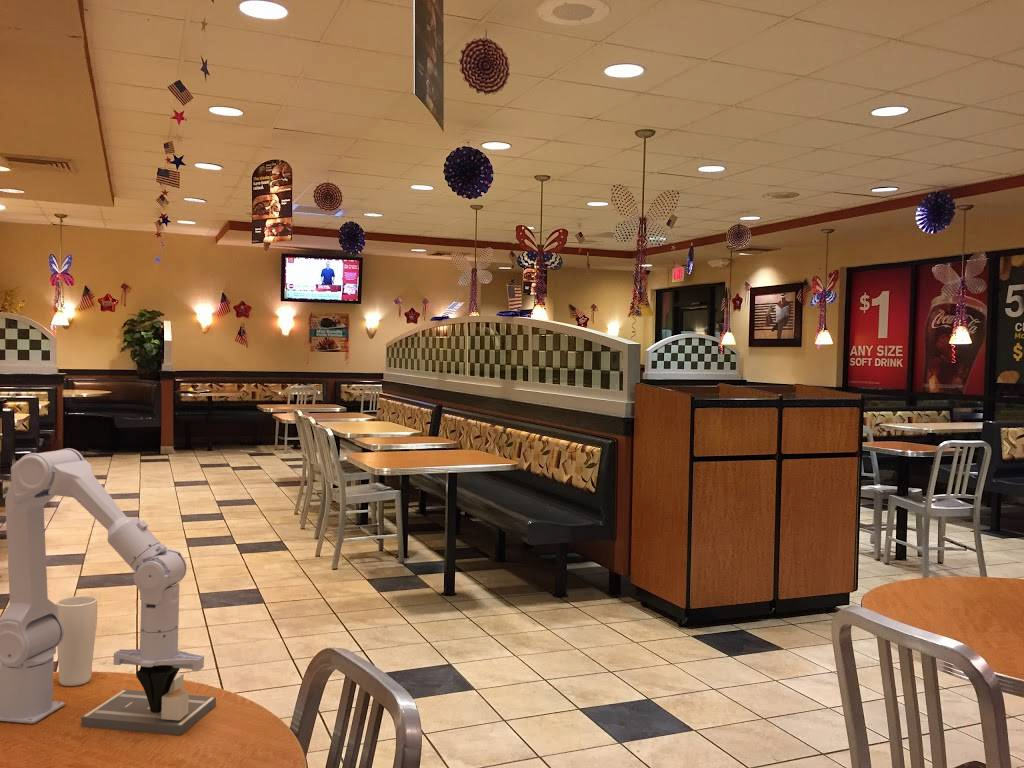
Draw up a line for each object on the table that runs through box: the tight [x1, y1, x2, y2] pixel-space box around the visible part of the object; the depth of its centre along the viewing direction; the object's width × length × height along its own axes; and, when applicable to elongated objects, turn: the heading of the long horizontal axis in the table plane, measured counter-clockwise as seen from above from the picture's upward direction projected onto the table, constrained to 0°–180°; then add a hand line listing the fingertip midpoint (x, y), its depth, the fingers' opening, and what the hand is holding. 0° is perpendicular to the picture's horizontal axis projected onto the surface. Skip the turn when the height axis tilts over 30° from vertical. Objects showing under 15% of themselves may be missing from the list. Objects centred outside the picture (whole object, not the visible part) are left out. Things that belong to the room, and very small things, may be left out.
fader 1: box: [169, 672, 185, 691], centre depth 146 cm, size 3×3×4 cm
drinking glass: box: [55, 595, 98, 687], centre depth 156 cm, size 7×7×15 cm
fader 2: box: [161, 689, 190, 720], centre depth 138 cm, size 3×3×4 cm
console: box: [80, 689, 217, 736], centre depth 142 cm, size 17×12×2 cm
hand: (157, 710), depth 139 cm, fingers closed
